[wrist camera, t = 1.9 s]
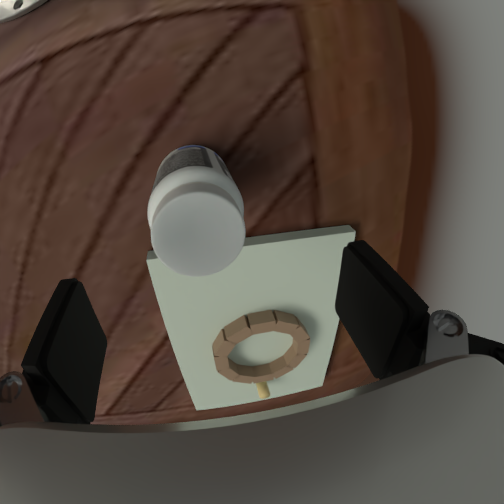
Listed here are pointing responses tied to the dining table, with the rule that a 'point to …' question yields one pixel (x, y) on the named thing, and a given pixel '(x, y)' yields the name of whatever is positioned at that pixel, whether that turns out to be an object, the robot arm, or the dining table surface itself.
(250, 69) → the dining table surface
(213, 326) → the socket board
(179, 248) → the pill bottle
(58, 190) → the dining table surface
